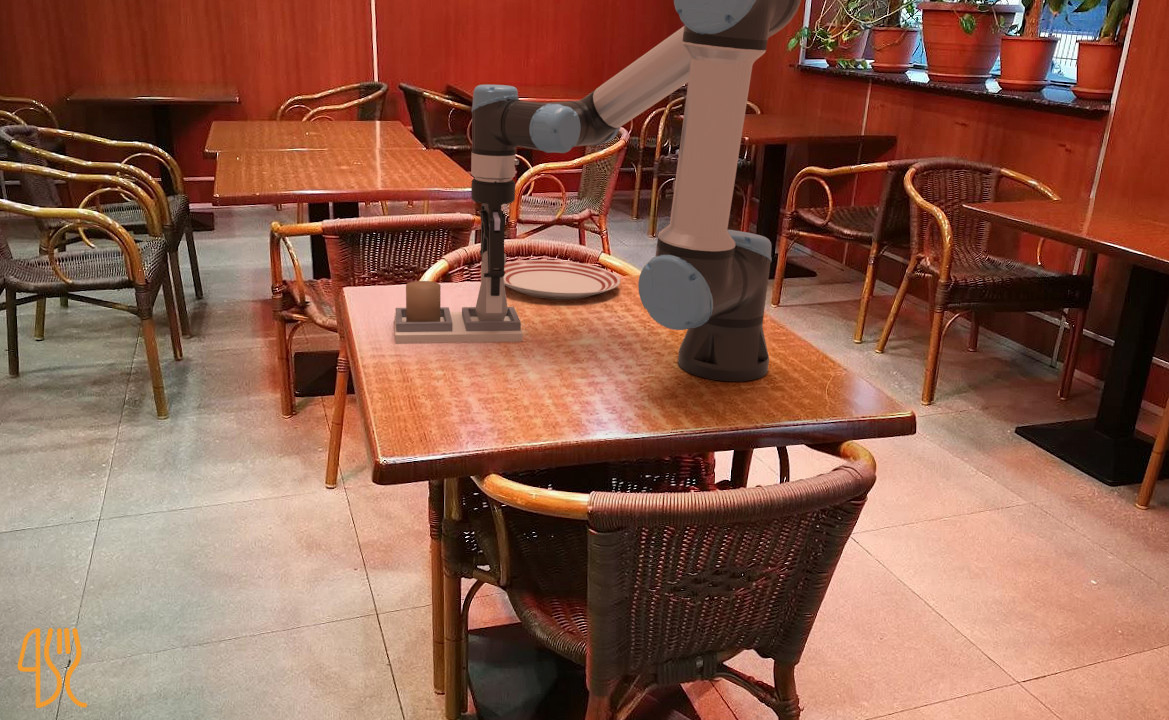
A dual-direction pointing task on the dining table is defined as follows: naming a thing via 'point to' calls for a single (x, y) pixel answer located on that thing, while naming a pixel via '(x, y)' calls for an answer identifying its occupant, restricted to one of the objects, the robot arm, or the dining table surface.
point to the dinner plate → (558, 279)
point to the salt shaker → (482, 297)
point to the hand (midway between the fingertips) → (491, 304)
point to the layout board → (448, 320)
